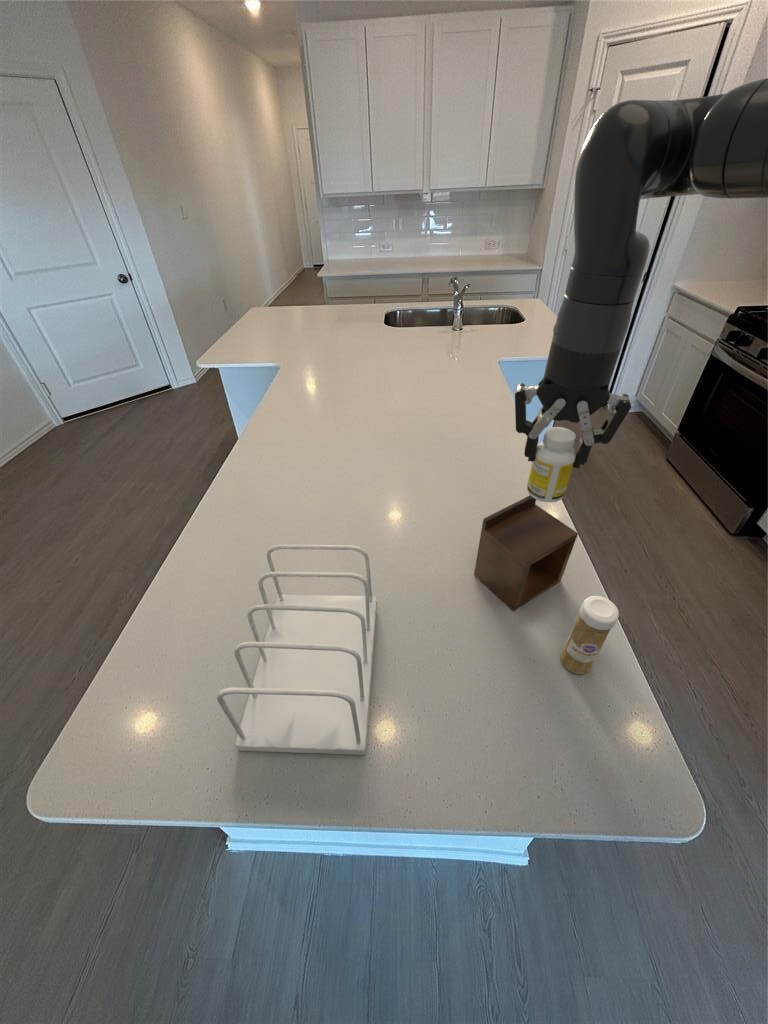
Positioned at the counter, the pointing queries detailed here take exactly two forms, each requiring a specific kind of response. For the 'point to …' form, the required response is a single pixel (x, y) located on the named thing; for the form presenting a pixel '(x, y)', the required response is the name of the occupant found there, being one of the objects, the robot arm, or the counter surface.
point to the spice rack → (522, 552)
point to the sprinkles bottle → (589, 634)
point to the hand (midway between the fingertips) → (553, 461)
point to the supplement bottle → (552, 465)
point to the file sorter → (309, 669)
